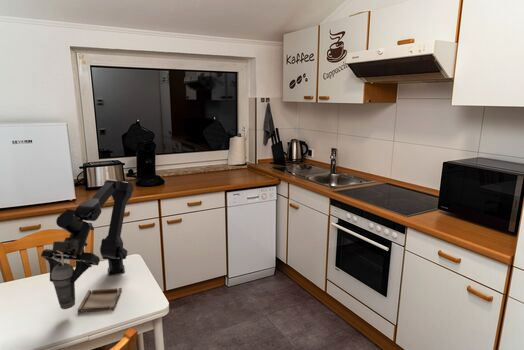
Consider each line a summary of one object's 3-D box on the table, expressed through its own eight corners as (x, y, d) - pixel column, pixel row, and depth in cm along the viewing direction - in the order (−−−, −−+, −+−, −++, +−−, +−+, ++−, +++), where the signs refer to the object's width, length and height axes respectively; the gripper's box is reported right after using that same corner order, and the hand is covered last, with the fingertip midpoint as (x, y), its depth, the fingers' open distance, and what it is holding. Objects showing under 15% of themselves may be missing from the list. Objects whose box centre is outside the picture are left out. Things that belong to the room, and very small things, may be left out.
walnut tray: (88, 293, 136) (88, 290, 136) (121, 291, 138) (121, 288, 138) (77, 313, 125) (77, 309, 124) (114, 310, 126) (113, 306, 126)
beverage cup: (70, 296, 128) (62, 245, 122) (84, 302, 125) (76, 250, 119) (50, 307, 121) (41, 254, 116) (65, 314, 118) (56, 259, 113)
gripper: (39, 227, 121) (19, 274, 113) (90, 231, 118) (73, 279, 111) (59, 238, 131) (41, 282, 123) (106, 242, 128) (91, 287, 120)
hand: (61, 282), depth 119 cm, fingers closed on beverage cup, 7 cm apart
